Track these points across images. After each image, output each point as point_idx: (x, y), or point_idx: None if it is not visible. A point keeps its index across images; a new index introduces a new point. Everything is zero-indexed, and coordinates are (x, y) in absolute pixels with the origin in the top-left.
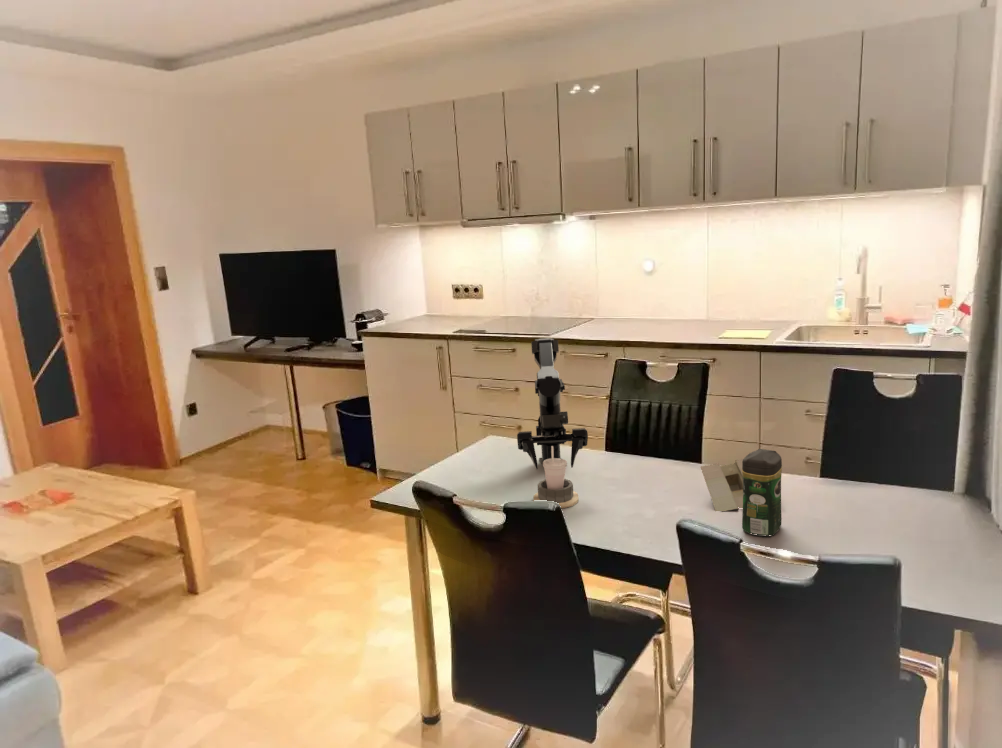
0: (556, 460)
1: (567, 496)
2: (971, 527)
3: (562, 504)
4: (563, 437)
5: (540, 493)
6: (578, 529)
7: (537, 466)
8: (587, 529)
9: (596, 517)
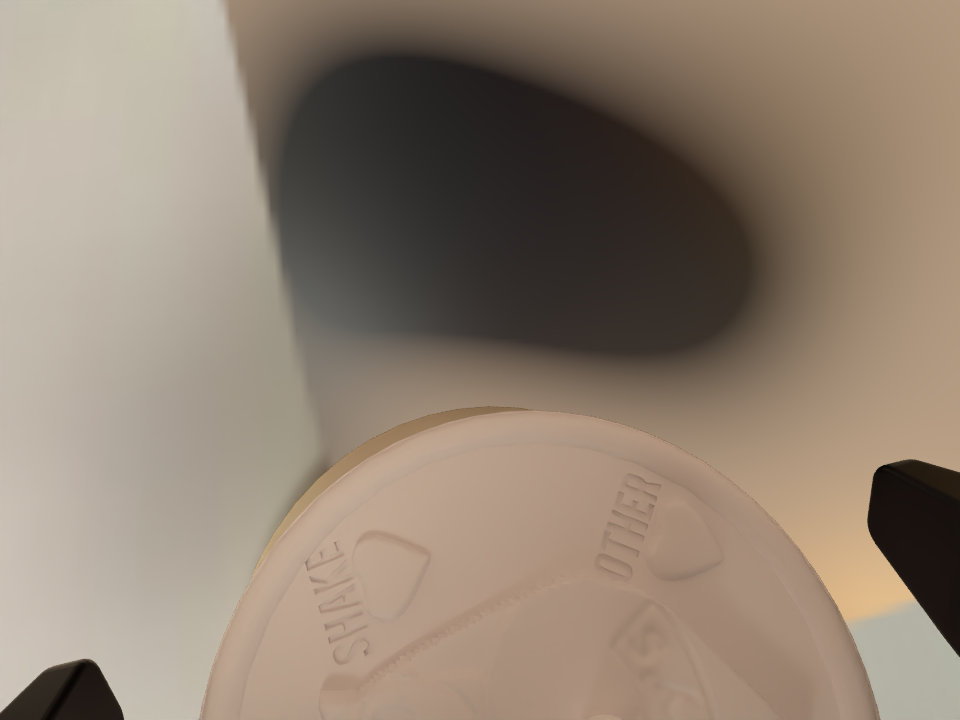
0: None
1: None
2: None
3: (389, 438)
4: None
5: None
6: (227, 81)
7: (900, 476)
8: (159, 85)
9: (73, 281)
